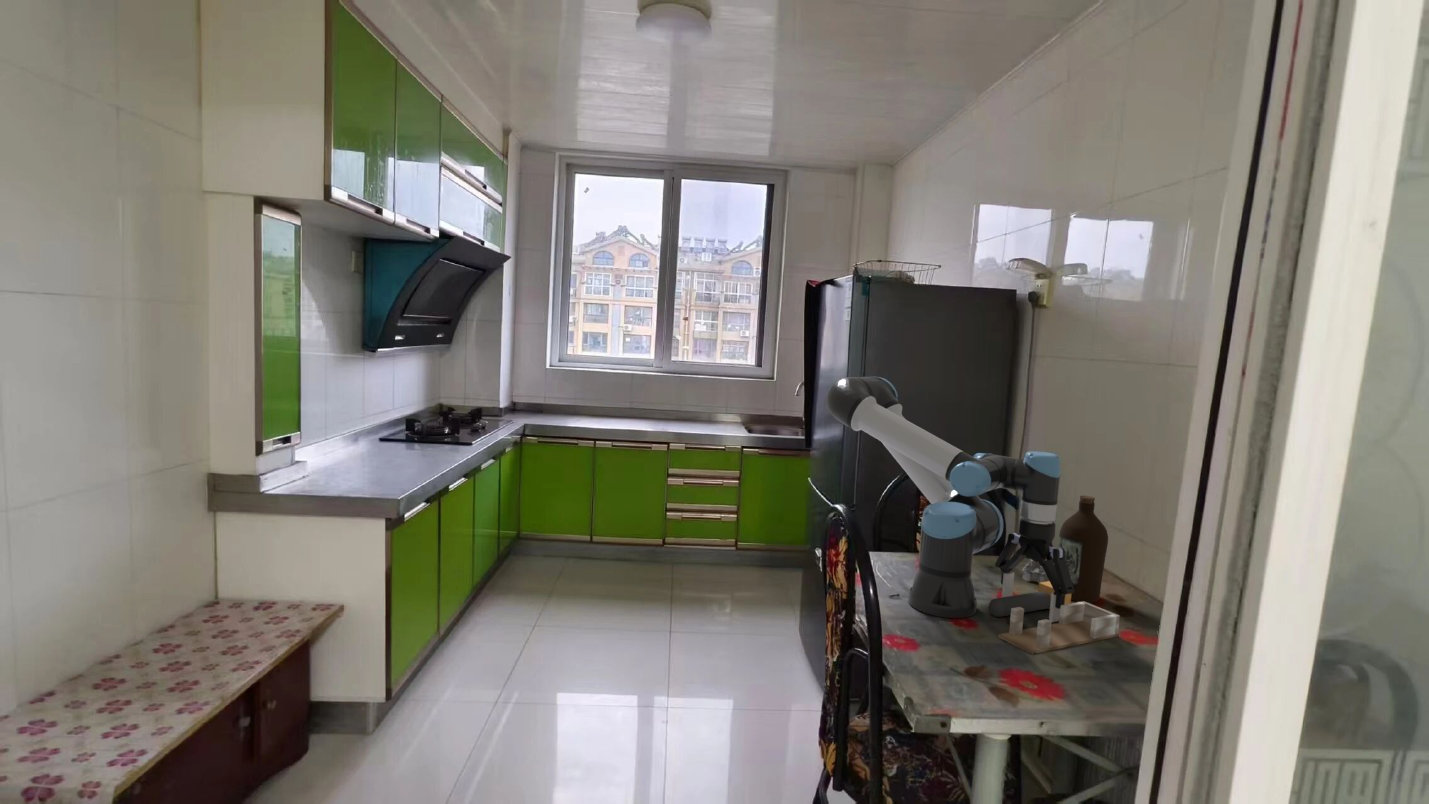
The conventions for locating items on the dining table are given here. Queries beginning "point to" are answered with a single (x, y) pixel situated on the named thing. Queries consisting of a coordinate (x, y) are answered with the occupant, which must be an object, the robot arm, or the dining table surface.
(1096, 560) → the olive oil
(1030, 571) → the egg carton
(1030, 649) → the wooden stand
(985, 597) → the dining table surface
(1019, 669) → the dining table surface
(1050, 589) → the grey handled block hammer
